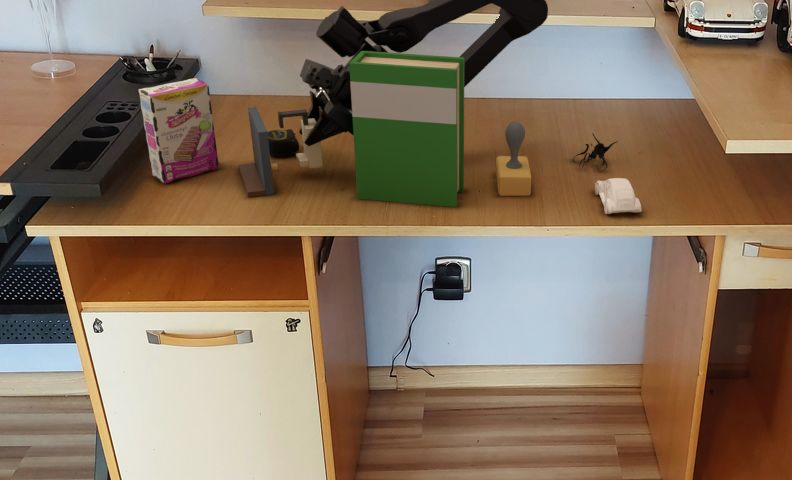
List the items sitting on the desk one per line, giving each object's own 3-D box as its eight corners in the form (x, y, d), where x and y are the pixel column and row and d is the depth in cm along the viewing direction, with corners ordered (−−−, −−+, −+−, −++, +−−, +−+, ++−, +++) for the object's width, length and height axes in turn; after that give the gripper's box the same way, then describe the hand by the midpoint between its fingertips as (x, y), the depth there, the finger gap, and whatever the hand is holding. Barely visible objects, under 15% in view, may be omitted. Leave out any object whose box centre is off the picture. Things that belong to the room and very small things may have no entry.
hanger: (317, 156, 168) (313, 105, 163) (322, 166, 164) (318, 114, 159) (281, 160, 166) (276, 108, 161) (286, 171, 162) (280, 118, 157)
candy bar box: (165, 185, 161) (149, 96, 153) (152, 177, 164) (135, 88, 156) (221, 169, 168) (209, 82, 160) (208, 161, 171) (195, 76, 163)
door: (269, 166, 170) (263, 106, 164) (281, 193, 160) (274, 130, 154) (238, 169, 168) (230, 109, 162) (248, 197, 158) (240, 134, 152)
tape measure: (300, 157, 174) (299, 139, 172) (264, 160, 172) (262, 142, 170) (296, 144, 180) (294, 126, 178) (261, 147, 178) (259, 129, 176)
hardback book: (463, 189, 163) (464, 57, 151) (456, 207, 157) (456, 70, 144) (368, 182, 165) (361, 50, 153) (357, 198, 159) (349, 63, 146)
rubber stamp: (530, 196, 162) (533, 132, 155) (498, 195, 161) (500, 131, 155) (526, 174, 170) (529, 112, 164) (495, 173, 170) (497, 112, 163)
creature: (597, 180, 171) (622, 160, 175) (595, 156, 168) (621, 136, 172) (565, 168, 176) (590, 149, 180) (563, 144, 172) (589, 126, 176)
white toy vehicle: (642, 217, 155) (645, 192, 153) (607, 219, 154) (610, 194, 152) (623, 188, 165) (625, 165, 163) (590, 190, 164) (592, 166, 162)
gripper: (315, 30, 164) (260, 95, 166) (337, 59, 149) (276, 130, 151) (360, 69, 170) (307, 131, 172) (385, 100, 155) (327, 168, 158)
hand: (303, 139), depth 163 cm, fingers closed on hanger, 5 cm apart
